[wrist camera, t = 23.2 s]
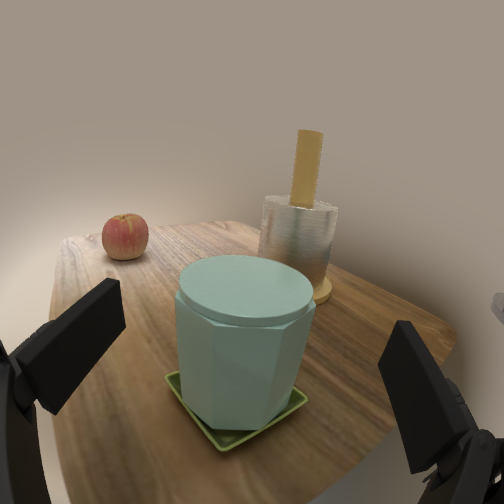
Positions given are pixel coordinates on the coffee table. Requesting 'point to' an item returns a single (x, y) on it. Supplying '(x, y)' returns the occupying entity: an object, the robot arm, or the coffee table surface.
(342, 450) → the coffee table surface
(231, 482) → the coffee table surface
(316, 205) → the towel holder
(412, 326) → the robot arm
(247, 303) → the jar
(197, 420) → the saucer
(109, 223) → the apple
